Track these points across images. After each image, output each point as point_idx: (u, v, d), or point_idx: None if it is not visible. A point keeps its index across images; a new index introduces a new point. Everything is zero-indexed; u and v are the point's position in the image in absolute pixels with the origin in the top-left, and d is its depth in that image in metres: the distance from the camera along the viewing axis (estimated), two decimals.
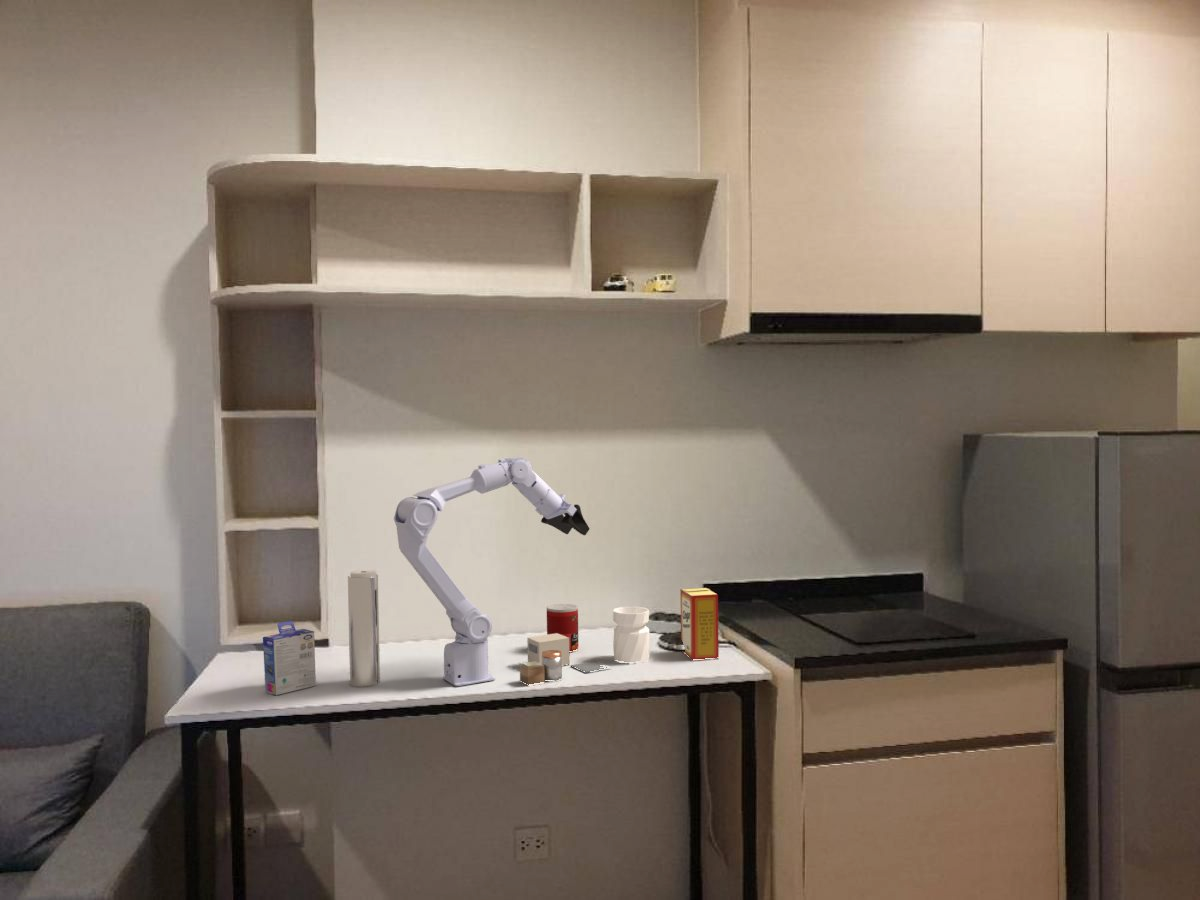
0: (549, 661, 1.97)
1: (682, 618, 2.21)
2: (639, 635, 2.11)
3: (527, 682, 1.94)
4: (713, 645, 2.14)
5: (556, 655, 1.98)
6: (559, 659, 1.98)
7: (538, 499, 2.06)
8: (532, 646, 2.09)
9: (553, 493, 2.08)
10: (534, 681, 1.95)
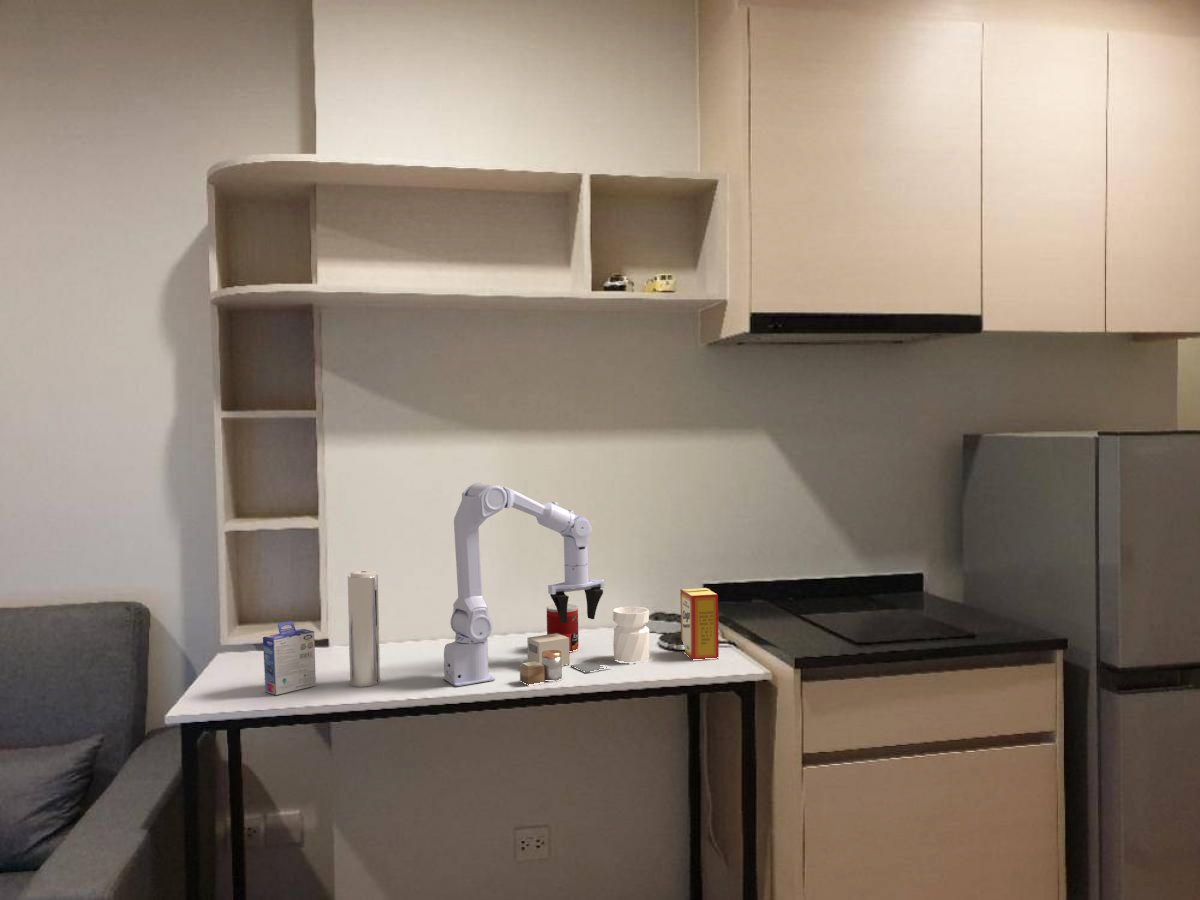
0: (549, 661, 1.97)
1: (682, 618, 2.21)
2: (639, 635, 2.11)
3: (527, 682, 1.94)
4: (713, 645, 2.14)
5: (556, 655, 1.98)
6: (559, 659, 1.98)
7: (574, 563, 2.12)
8: (532, 646, 2.09)
9: None
10: (534, 681, 1.95)
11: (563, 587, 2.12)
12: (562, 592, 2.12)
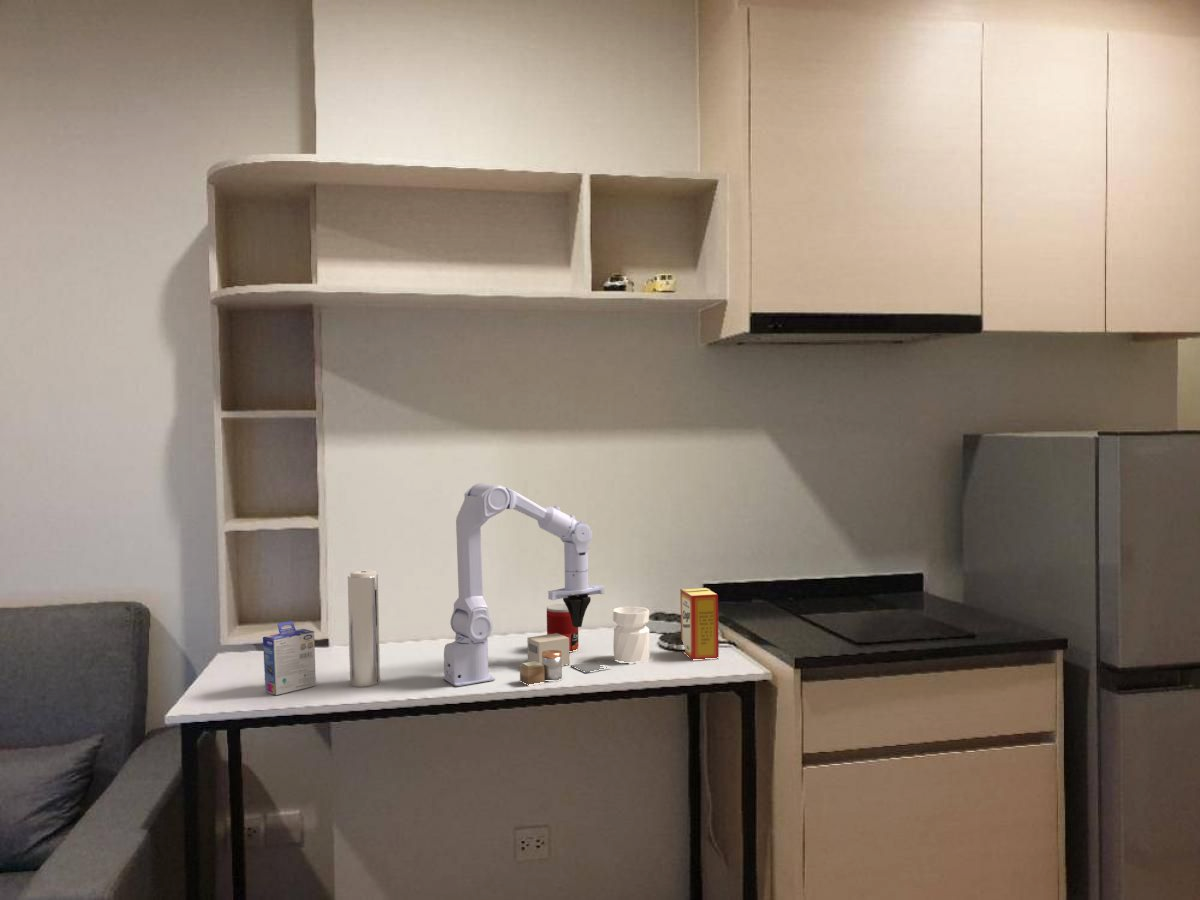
0: (549, 661, 1.97)
1: (682, 618, 2.21)
2: (639, 635, 2.11)
3: (527, 682, 1.94)
4: (713, 645, 2.14)
5: (556, 655, 1.98)
6: (559, 659, 1.98)
7: (574, 569, 2.12)
8: (532, 646, 2.09)
9: None
10: (534, 681, 1.95)
11: (563, 593, 2.12)
12: None
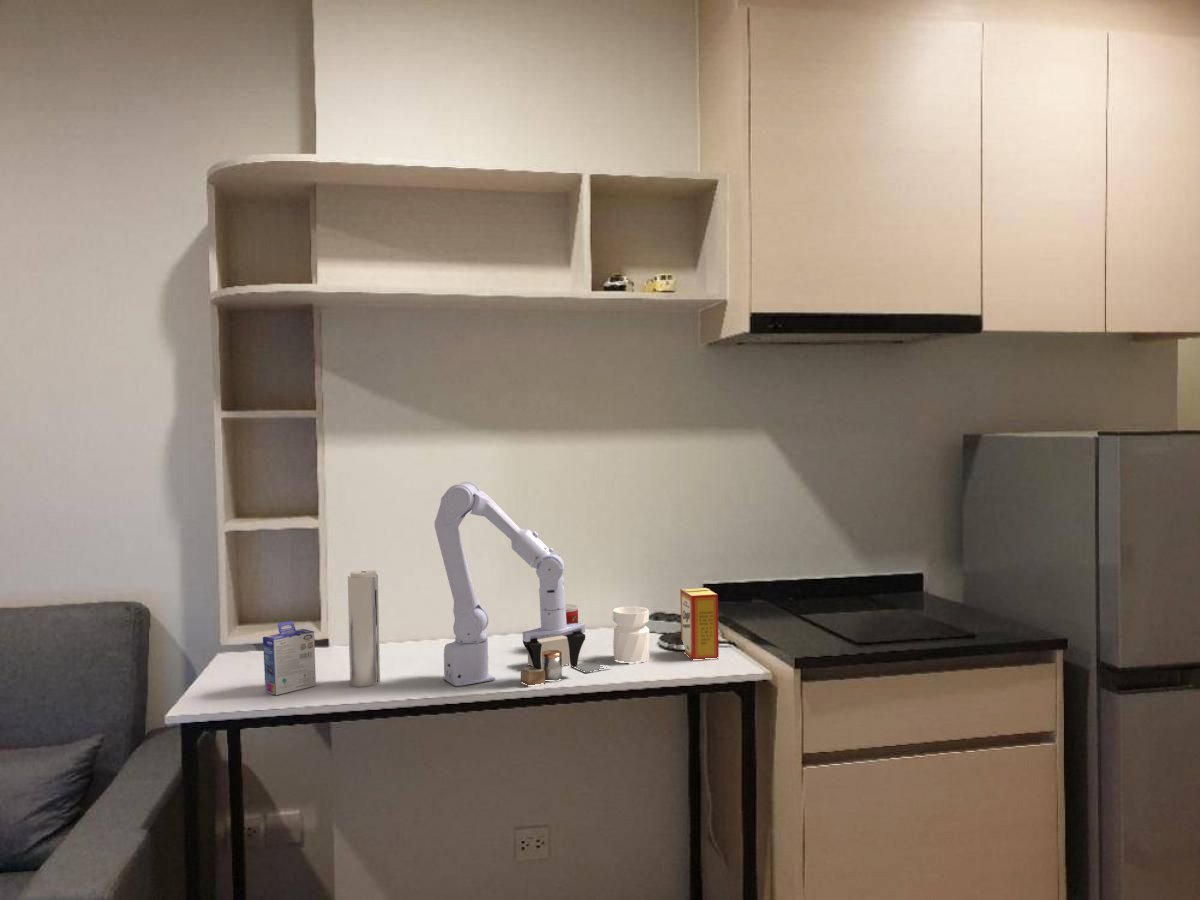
0: (549, 661, 1.97)
1: (682, 618, 2.21)
2: (639, 635, 2.11)
3: None
4: (713, 645, 2.14)
5: (556, 655, 1.98)
6: (559, 659, 1.98)
7: (543, 607, 1.97)
8: None
9: None
10: None
11: (538, 634, 1.95)
12: None
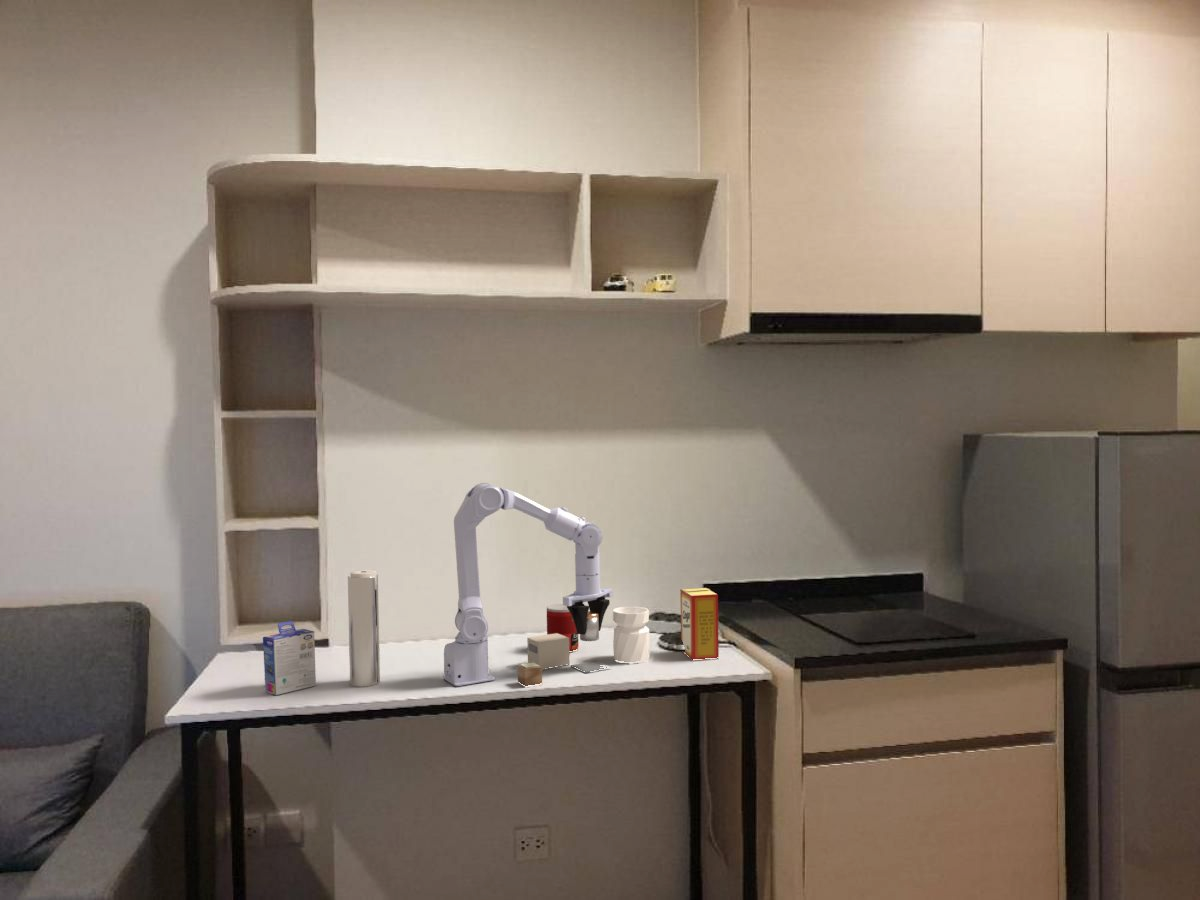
0: (589, 621, 2.05)
1: (682, 618, 2.21)
2: (639, 635, 2.11)
3: (524, 683, 1.93)
4: (713, 645, 2.14)
5: (595, 615, 2.06)
6: (597, 619, 2.07)
7: (582, 572, 2.05)
8: (532, 646, 2.09)
9: None
10: (531, 682, 1.94)
11: (579, 598, 2.03)
12: (577, 603, 2.04)
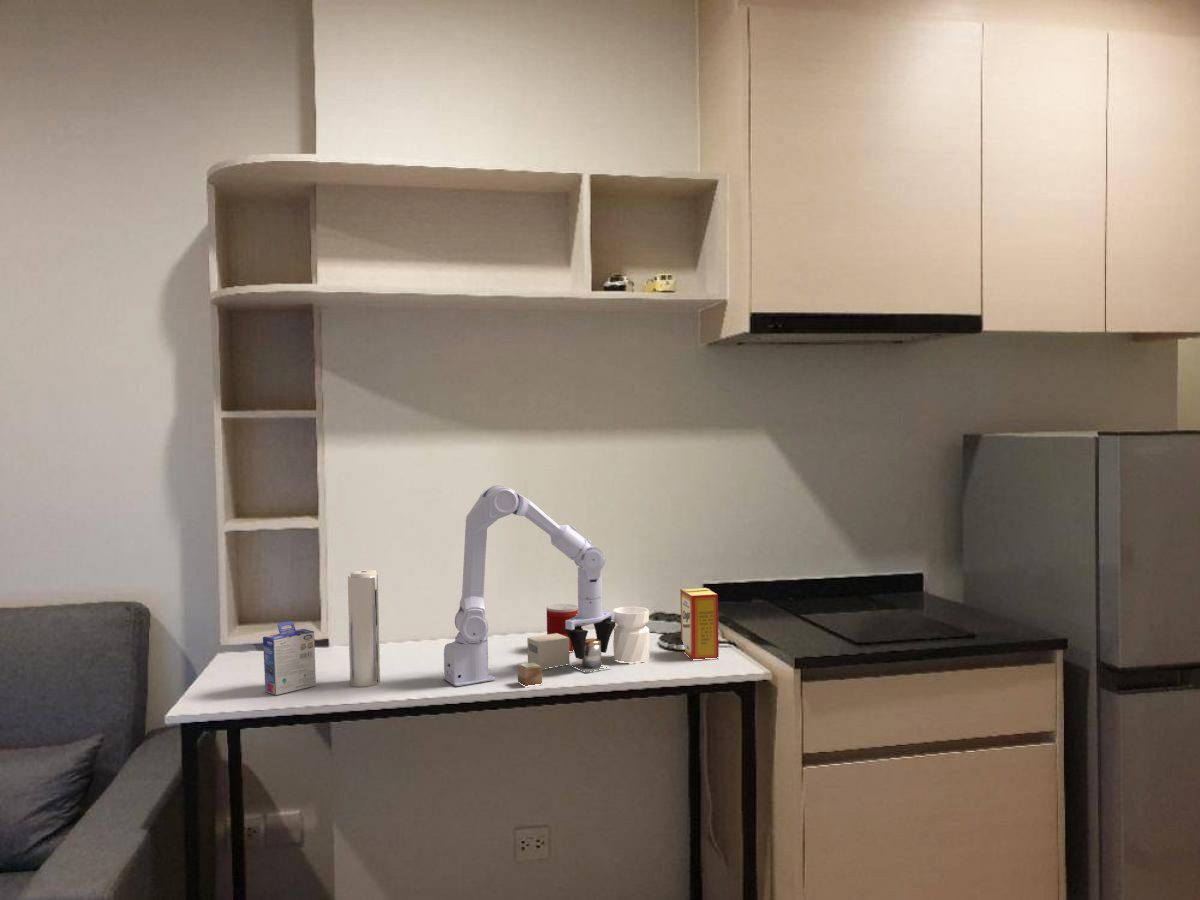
0: (592, 649, 2.06)
1: (682, 618, 2.21)
2: (639, 635, 2.11)
3: (524, 683, 1.93)
4: (713, 645, 2.14)
5: (598, 642, 2.07)
6: (600, 646, 2.07)
7: (585, 596, 2.05)
8: (532, 646, 2.09)
9: None
10: (531, 682, 1.94)
11: (582, 621, 2.04)
12: (580, 627, 2.04)
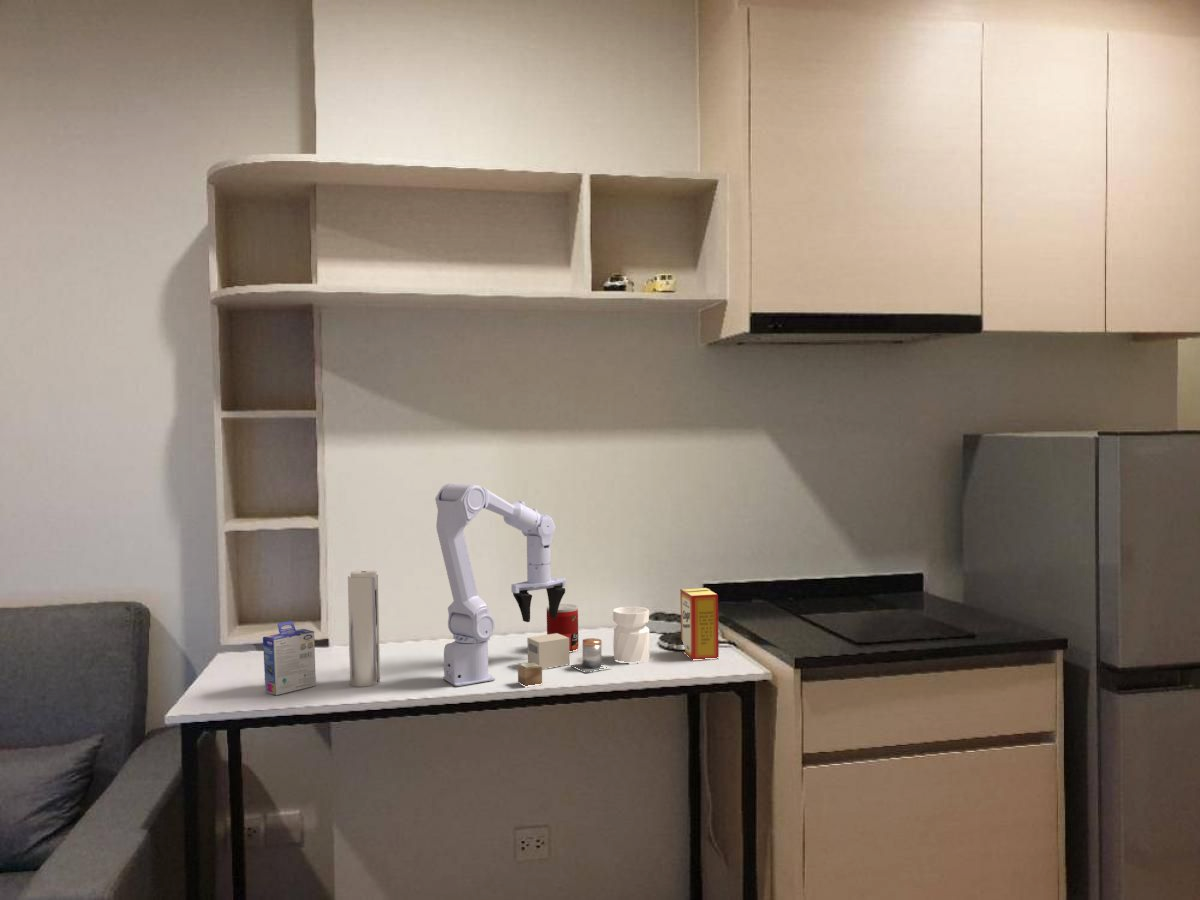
0: (592, 649, 2.06)
1: (682, 618, 2.21)
2: (639, 635, 2.11)
3: (524, 683, 1.93)
4: (713, 645, 2.14)
5: (598, 642, 2.07)
6: (600, 646, 2.07)
7: (540, 562, 2.13)
8: (532, 646, 2.09)
9: None
10: (531, 682, 1.94)
11: (526, 586, 2.12)
12: (525, 591, 2.13)
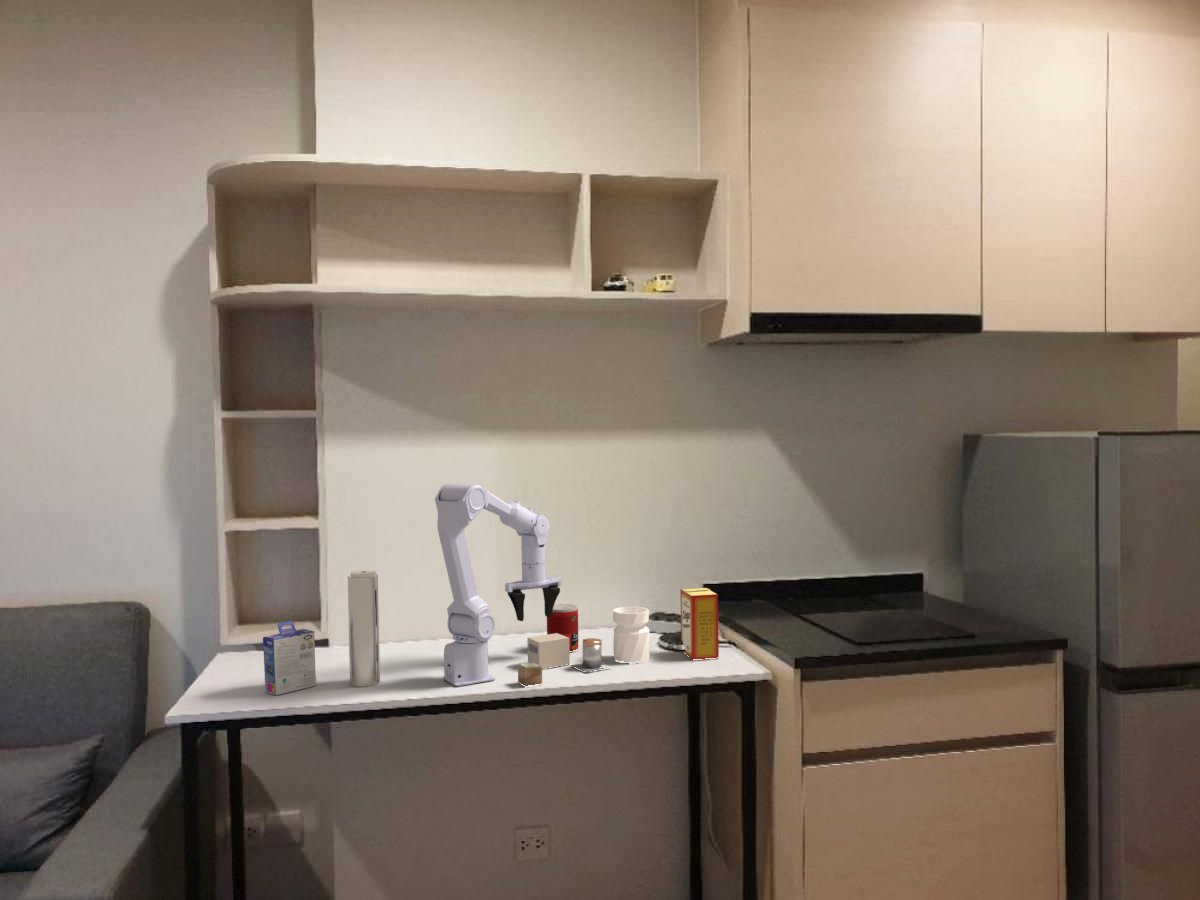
0: (592, 648, 2.06)
1: (682, 618, 2.21)
2: (639, 635, 2.11)
3: (524, 683, 1.93)
4: (713, 645, 2.14)
5: (598, 642, 2.07)
6: (600, 646, 2.07)
7: (535, 561, 2.14)
8: (532, 646, 2.09)
9: None
10: (531, 682, 1.94)
11: (520, 585, 2.13)
12: (519, 590, 2.14)
